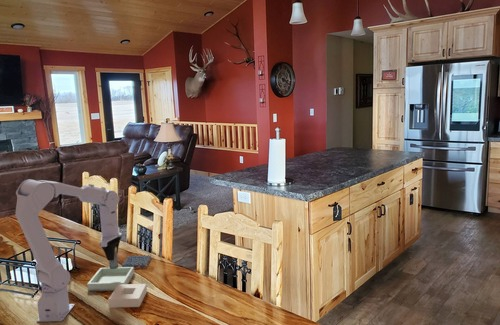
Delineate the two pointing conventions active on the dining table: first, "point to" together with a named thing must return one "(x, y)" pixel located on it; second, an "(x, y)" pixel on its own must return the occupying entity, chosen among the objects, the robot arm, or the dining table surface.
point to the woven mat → (137, 261)
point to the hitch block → (127, 295)
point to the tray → (110, 278)
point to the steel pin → (114, 261)
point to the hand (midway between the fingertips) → (112, 258)
